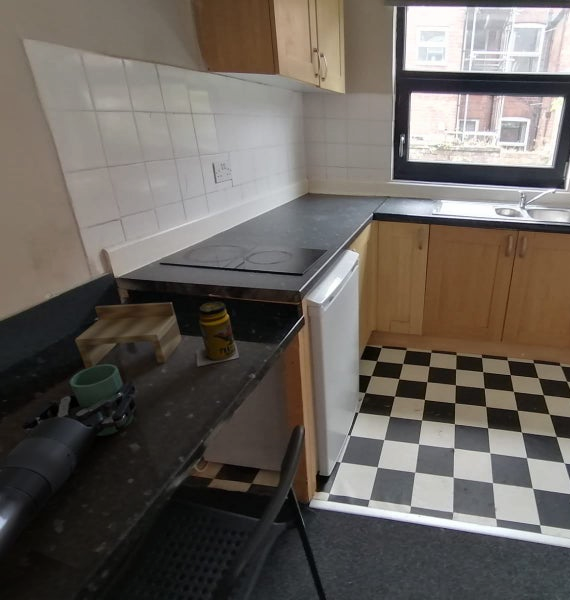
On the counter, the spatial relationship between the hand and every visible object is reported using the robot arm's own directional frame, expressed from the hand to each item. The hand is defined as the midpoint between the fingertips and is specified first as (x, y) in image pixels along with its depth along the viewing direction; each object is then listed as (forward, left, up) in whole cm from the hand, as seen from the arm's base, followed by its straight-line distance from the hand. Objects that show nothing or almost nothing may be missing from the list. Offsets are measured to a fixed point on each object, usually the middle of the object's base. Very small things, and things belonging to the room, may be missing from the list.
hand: (108, 386), depth 70 cm
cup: (+1, -2, -6) cm, 6 cm away
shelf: (-15, +17, -6) cm, 23 cm away
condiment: (+3, +22, -6) cm, 23 cm away
